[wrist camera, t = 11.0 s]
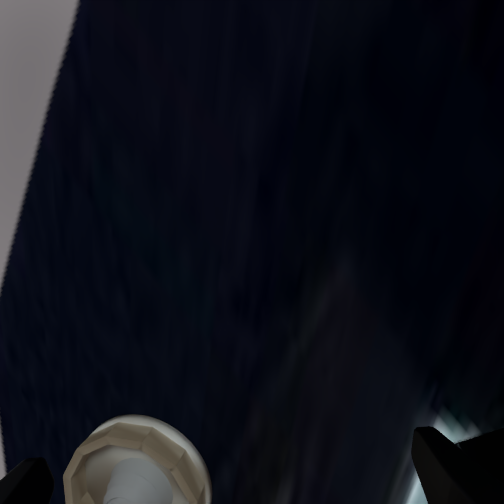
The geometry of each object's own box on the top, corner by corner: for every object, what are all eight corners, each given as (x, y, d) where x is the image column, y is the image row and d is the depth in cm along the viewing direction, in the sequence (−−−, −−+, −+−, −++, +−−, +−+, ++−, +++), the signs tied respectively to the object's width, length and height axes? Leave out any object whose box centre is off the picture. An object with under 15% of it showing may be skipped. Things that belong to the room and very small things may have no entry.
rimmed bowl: (238, 519, 24) (229, 551, 22) (128, 554, 27) (110, 586, 25) (164, 393, 24) (148, 413, 22) (60, 441, 27) (36, 464, 25)
